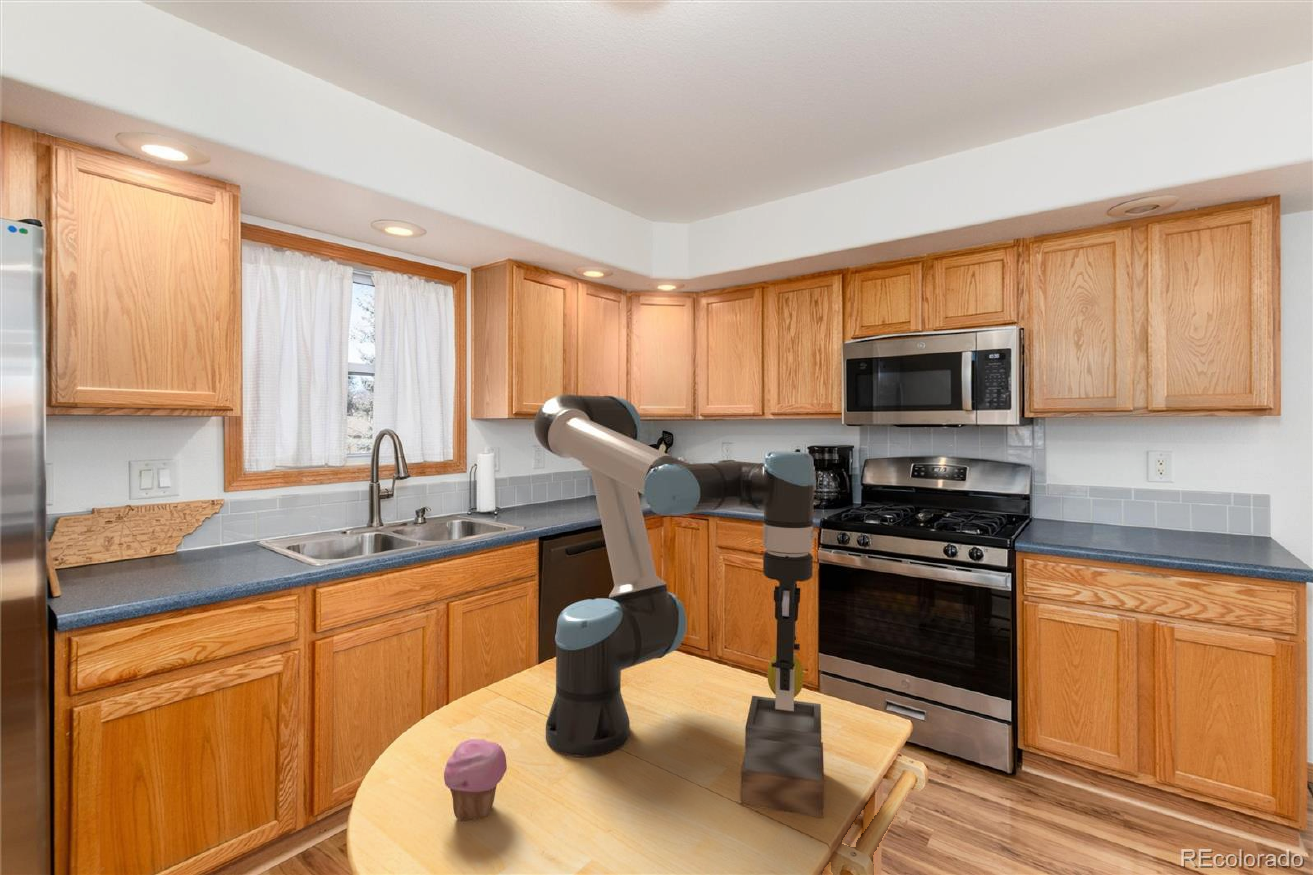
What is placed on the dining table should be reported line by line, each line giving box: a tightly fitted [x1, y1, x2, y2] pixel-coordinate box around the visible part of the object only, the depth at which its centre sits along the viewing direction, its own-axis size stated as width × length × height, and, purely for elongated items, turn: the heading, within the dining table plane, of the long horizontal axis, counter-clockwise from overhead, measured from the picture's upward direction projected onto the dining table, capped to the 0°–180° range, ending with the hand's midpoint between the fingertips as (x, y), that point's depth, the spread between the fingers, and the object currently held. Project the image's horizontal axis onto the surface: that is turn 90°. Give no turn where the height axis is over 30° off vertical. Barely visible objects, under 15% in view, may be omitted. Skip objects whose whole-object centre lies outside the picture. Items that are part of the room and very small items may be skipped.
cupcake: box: [443, 738, 508, 821], centre depth 90 cm, size 9×9×10 cm
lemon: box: [766, 654, 805, 698], centre depth 97 cm, size 6×6×8 cm
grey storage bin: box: [739, 695, 825, 819], centre depth 97 cm, size 12×12×12 cm
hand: (785, 699), depth 97 cm, fingers closed on lemon, 5 cm apart
